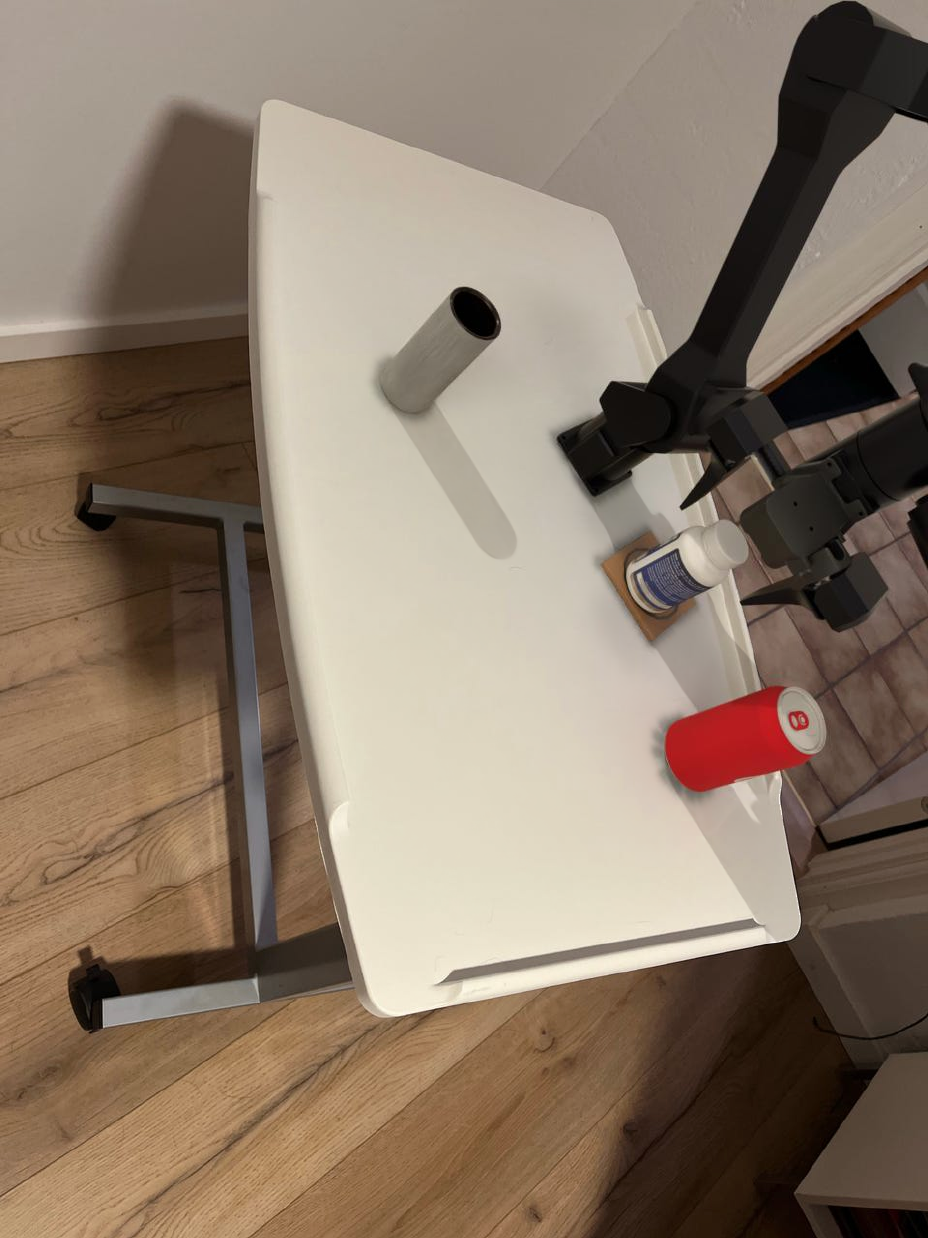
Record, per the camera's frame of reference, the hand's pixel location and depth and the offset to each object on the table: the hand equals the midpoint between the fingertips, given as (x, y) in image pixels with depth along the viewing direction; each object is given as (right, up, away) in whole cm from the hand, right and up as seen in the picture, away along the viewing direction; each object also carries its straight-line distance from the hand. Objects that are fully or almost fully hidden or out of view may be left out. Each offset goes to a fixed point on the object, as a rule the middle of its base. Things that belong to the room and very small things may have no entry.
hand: (712, 554), depth 74 cm
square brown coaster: (-4, -2, +7) cm, 8 cm away
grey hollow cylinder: (-25, +13, -1) cm, 29 cm away
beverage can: (-2, -17, +2) cm, 17 cm away
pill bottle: (-4, -3, +6) cm, 8 cm away
